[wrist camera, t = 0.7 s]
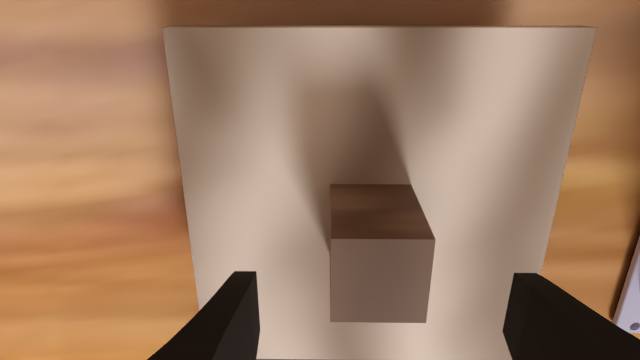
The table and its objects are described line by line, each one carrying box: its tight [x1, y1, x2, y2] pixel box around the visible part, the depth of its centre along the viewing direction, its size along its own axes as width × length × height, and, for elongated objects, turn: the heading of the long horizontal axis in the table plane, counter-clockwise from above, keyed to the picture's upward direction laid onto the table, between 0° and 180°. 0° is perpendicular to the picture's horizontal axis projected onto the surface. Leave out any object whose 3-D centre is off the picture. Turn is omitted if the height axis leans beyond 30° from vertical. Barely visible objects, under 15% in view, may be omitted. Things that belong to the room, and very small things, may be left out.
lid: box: [162, 26, 597, 360], centre depth 16 cm, size 14×14×5 cm
